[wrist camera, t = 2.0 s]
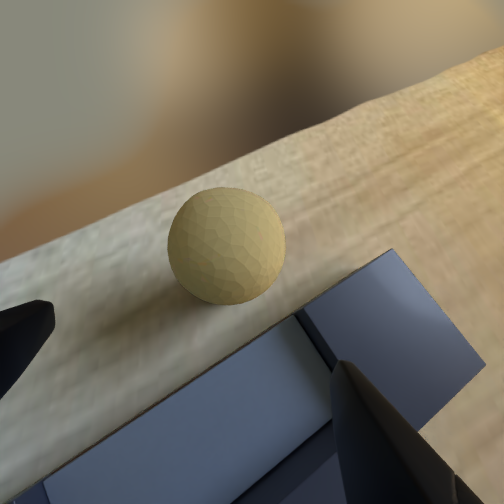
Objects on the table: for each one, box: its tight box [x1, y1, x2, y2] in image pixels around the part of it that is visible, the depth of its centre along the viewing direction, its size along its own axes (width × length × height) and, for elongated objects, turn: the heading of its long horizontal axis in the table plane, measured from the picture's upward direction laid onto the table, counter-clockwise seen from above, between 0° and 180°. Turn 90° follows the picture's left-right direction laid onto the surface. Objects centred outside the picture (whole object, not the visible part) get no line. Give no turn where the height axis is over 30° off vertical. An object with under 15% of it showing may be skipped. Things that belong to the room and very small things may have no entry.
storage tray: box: [4, 249, 486, 504], centre depth 15 cm, size 30×9×6 cm, turn 122°
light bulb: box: [167, 187, 286, 305], centre depth 17 cm, size 6×6×10 cm
